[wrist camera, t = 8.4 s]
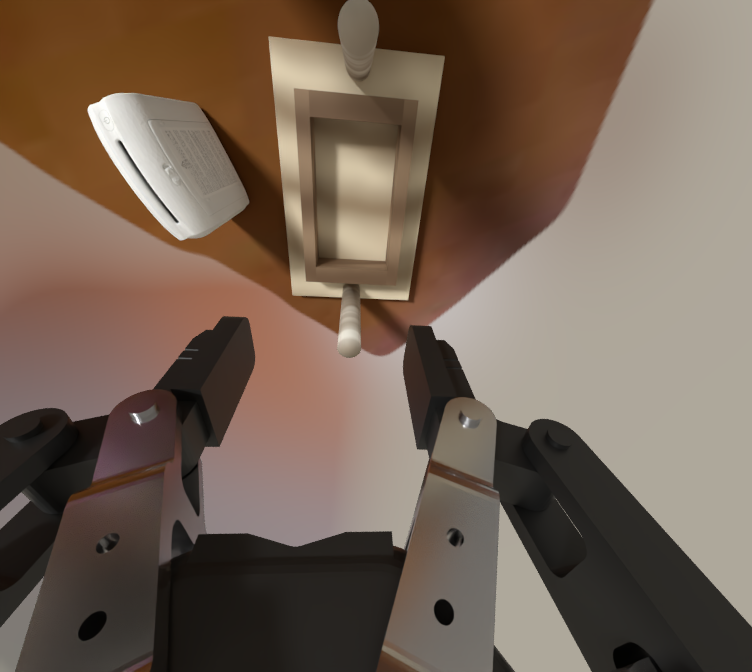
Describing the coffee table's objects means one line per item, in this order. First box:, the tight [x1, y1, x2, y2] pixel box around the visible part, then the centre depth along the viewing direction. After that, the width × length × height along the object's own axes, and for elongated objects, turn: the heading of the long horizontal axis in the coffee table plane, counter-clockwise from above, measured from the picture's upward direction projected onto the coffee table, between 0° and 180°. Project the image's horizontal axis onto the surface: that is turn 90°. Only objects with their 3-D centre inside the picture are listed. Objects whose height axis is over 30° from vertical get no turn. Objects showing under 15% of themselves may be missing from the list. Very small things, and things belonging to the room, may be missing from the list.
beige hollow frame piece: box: [269, 0, 445, 358], centre depth 28 cm, size 24×15×14 cm, turn 176°
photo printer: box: [88, 93, 249, 240], centre depth 26 cm, size 10×4×12 cm, turn 18°
